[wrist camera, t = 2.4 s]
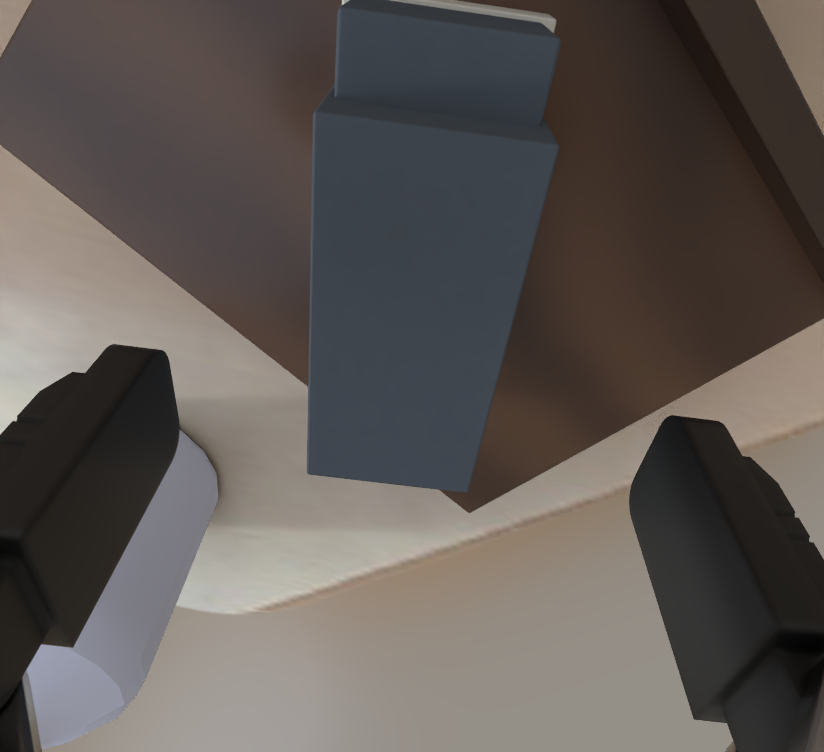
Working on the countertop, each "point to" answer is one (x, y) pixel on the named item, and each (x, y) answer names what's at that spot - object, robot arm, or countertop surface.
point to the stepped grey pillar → (422, 231)
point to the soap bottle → (127, 609)
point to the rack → (561, 218)
